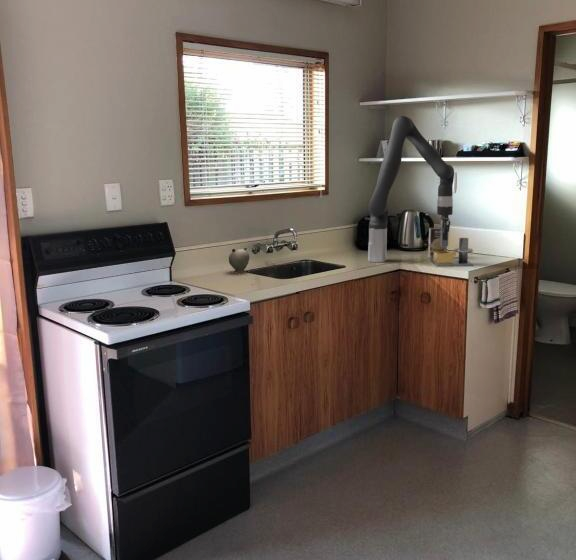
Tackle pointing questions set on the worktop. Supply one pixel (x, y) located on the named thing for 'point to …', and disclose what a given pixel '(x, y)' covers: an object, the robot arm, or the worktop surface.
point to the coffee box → (434, 242)
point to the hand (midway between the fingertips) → (444, 239)
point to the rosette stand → (447, 257)
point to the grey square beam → (442, 242)
